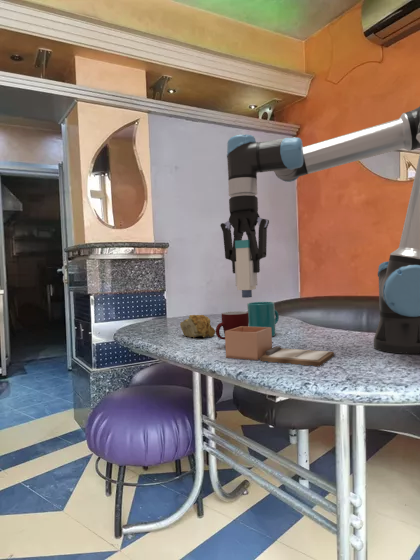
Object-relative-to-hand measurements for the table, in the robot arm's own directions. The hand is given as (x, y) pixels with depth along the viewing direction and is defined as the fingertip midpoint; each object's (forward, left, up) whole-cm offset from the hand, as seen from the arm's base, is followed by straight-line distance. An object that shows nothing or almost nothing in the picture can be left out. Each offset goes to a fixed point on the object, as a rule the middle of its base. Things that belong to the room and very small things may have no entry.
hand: (246, 285), depth 108 cm
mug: (+10, -9, -19) cm, 23 cm away
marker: (0, 0, -3) cm, 3 cm away
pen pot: (0, 0, -19) cm, 19 cm away
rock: (+31, -22, -19) cm, 42 cm away
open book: (-13, -1, -19) cm, 23 cm away
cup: (+9, -30, -19) cm, 37 cm away
